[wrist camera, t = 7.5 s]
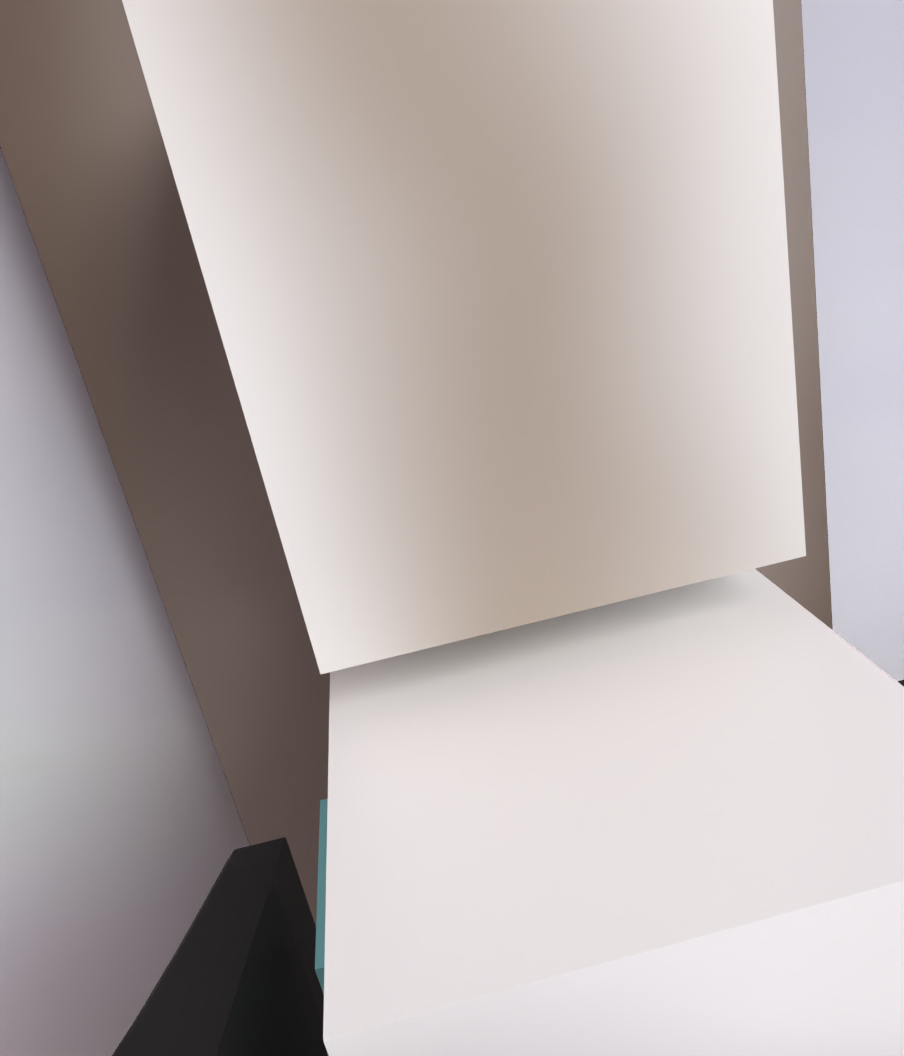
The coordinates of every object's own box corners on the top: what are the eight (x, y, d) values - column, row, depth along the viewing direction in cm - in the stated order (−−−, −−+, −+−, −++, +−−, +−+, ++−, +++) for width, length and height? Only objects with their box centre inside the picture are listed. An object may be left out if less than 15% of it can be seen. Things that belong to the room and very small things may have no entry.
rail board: (726, -256, 11) (1090, -720, 6) (818, 1051, 19) (1000, 1360, 14) (-50, -109, 10) (-452, -470, 5) (388, 1170, 19) (409, 1538, 13)
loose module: (674, 505, 12) (1086, 831, 5) (708, 764, 13) (1058, 1262, 7) (317, 594, 12) (291, 1048, 5) (392, 847, 13) (445, 1447, 7)
